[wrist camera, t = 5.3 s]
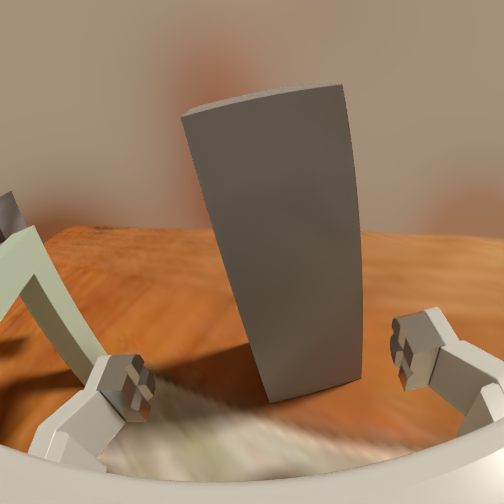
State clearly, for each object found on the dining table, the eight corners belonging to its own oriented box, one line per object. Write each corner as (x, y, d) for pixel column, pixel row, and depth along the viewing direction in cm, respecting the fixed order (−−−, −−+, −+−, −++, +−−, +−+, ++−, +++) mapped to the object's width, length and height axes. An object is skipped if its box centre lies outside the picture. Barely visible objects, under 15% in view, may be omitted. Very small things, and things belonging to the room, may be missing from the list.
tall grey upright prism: (361, 378, 16) (342, 84, 9) (269, 403, 16) (180, 117, 9) (334, 319, 20) (301, 84, 13) (257, 339, 20) (191, 108, 13)
